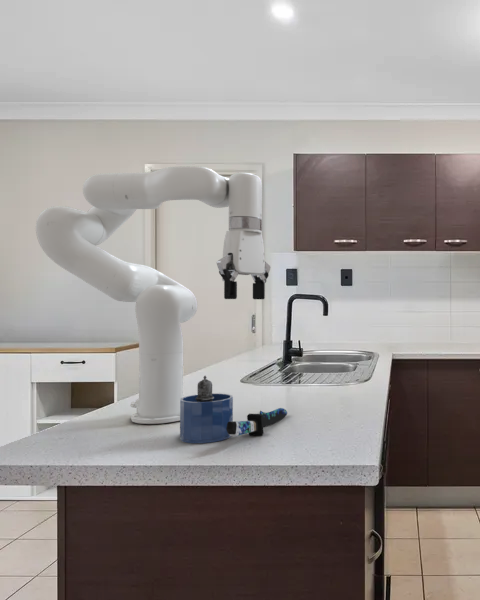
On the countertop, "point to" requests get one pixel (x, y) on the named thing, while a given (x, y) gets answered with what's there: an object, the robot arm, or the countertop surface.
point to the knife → (255, 423)
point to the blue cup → (205, 418)
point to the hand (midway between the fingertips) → (245, 299)
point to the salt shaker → (205, 391)
